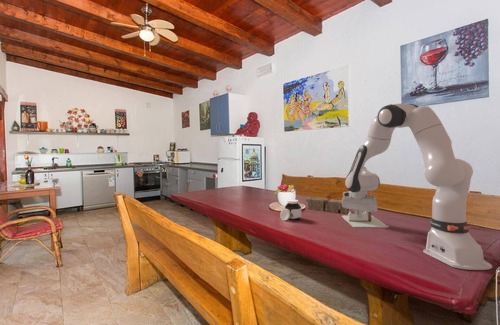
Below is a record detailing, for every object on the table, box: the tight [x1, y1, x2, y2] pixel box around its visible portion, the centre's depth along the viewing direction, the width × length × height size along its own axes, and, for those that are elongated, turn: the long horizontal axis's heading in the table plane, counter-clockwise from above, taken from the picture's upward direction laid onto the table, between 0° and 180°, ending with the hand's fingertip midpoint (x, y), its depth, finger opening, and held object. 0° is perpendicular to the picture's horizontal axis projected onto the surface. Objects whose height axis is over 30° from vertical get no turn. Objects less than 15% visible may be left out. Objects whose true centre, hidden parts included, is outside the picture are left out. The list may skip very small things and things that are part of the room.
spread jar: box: [279, 199, 302, 221], centre depth 165 cm, size 12×11×12 cm
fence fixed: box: [363, 211, 372, 222], centre depth 161 cm, size 13×2×7 cm, turn 176°
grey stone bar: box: [305, 196, 350, 215], centre depth 186 cm, size 8×8×29 cm
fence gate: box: [347, 210, 368, 221], centre depth 156 cm, size 11×1×5 cm, turn 83°
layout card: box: [341, 215, 390, 229], centre depth 157 cm, size 24×19×1 cm
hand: (359, 217), depth 154 cm, fingers closed
